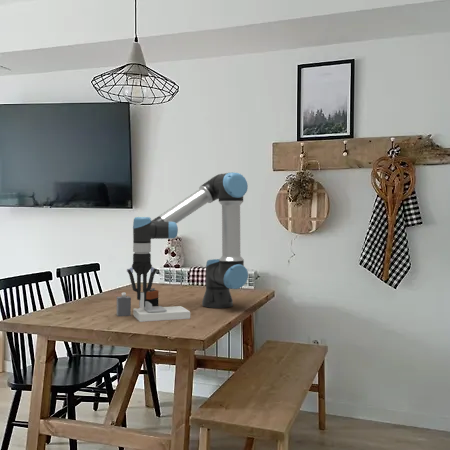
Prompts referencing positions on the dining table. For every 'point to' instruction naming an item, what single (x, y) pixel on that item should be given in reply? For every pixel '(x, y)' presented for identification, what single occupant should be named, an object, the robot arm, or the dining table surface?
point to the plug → (124, 305)
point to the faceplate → (162, 314)
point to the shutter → (153, 308)
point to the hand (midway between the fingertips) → (141, 307)
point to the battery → (152, 297)
